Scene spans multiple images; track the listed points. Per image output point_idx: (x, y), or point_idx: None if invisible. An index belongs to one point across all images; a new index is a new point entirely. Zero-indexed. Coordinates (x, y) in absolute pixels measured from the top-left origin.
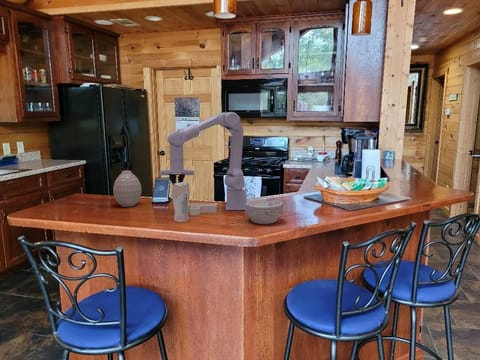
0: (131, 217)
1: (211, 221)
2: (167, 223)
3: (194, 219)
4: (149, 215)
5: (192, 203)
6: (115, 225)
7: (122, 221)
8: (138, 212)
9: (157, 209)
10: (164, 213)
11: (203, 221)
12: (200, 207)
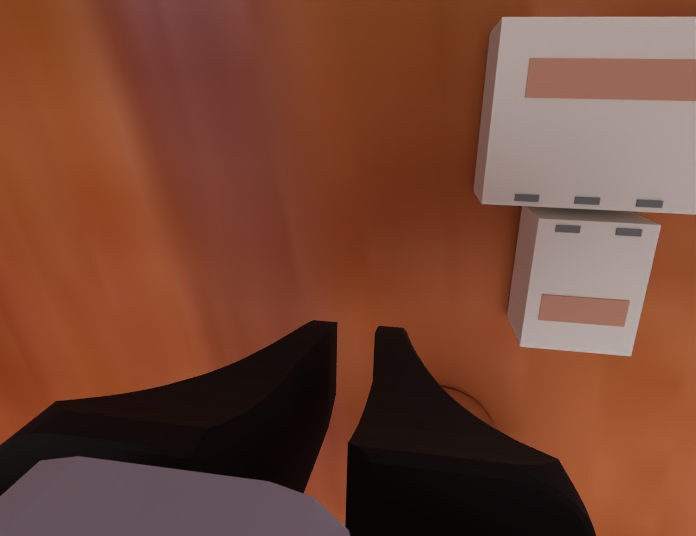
0: (28, 322)
1: (692, 507)
2: (336, 506)
3: (545, 434)
4: (140, 272)
5: (561, 59)
6: None
7: (18, 420)
8: (8, 155)
9: (137, 23)
10: (250, 207)
11: (620, 497)
12: (653, 208)
